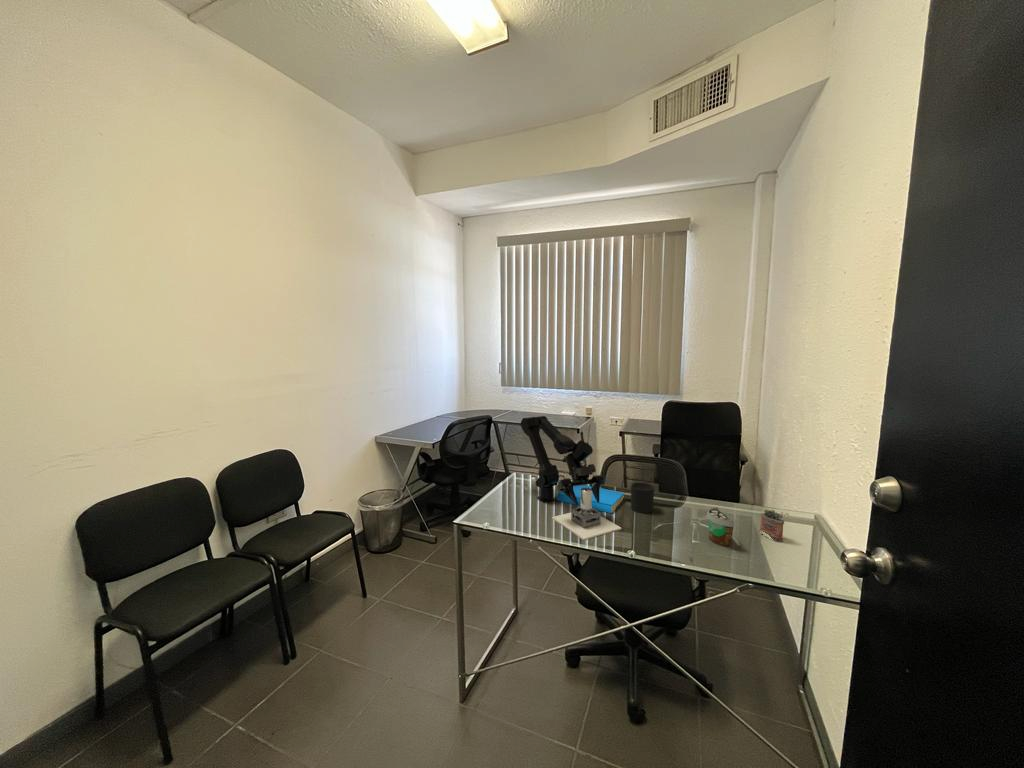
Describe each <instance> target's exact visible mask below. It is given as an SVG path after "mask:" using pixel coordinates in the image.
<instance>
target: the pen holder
mask: <svg viewBox="0 0 1024 768" xmlns="http://www.w3.org/2000/svg"><path fill="white" fill-rule="evenodd" d="M654 499H655V488H654V486H653V485H652V484H650V483H647V482H633V483H632V484H631V485H630V508H631V510H632V511H634V512H637V513H641V514H649V513H651V512H653V510H654V509H653V508H654Z"/></svg>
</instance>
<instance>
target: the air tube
mask: <svg viewBox="0 0 1024 768" xmlns="http://www.w3.org/2000/svg"><path fill="white" fill-rule="evenodd" d="M580 513H581V514H583V515H584V516H586V515H590V514H592V489H590V488H581V500H580ZM580 520H581V521H582V522H583V519H581V518H580ZM591 520H592V519H588V520H586V522H590V521H591Z"/></svg>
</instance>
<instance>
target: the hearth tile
mask: <svg viewBox="0 0 1024 768" xmlns="http://www.w3.org/2000/svg"><path fill="white" fill-rule="evenodd" d="M579 513H580V512H579ZM592 514H594V513H592ZM597 518H598V517H597ZM551 519H552V520H554V521H555V522H556V523H558V524H559V525H561V526H562V527H564V528H565V530H568V531H570V532H571V533H572V534H574V535H575V536H577V537H578V538H580V539H581V540H582V541H586V540H589V539H593V538H596V537H599V536H603V535H607V534H610V533H614V532H617V531H620V530H622V527H620V526H619V525H617V524H616V523H614V522H612V521H610V520H608V519H607V518H605V517H603V516H602V515H601V524H600V525H596V526H592V527H589V528H585V529H584V528H582V527H581V526H579V525H578V524H576V523H574V522H573V521H571V512H568V513H563V514H559V515H556V516H551ZM579 520H580V519H579ZM591 521H592V520H591Z"/></svg>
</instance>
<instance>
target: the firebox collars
mask: <svg viewBox="0 0 1024 768" xmlns="http://www.w3.org/2000/svg"><path fill="white" fill-rule="evenodd" d="M579 512H580V507H576V508H571V511H570V513H571V521H573V522H574V523H576V524H578V525H579V526H581V527H582V528H584V529H585V528H589V527H592V526H596V525H600V524H601V516H602V512H601V511H600V510H596V509H593V508H592V513H594V514H590V515H586V516H584V515H583V514H581V513H579ZM597 517H598V518H597ZM580 518H581V519H583V522H582V521H581V520H579V519H580ZM588 519H592V521H590V522H586V520H588Z"/></svg>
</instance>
